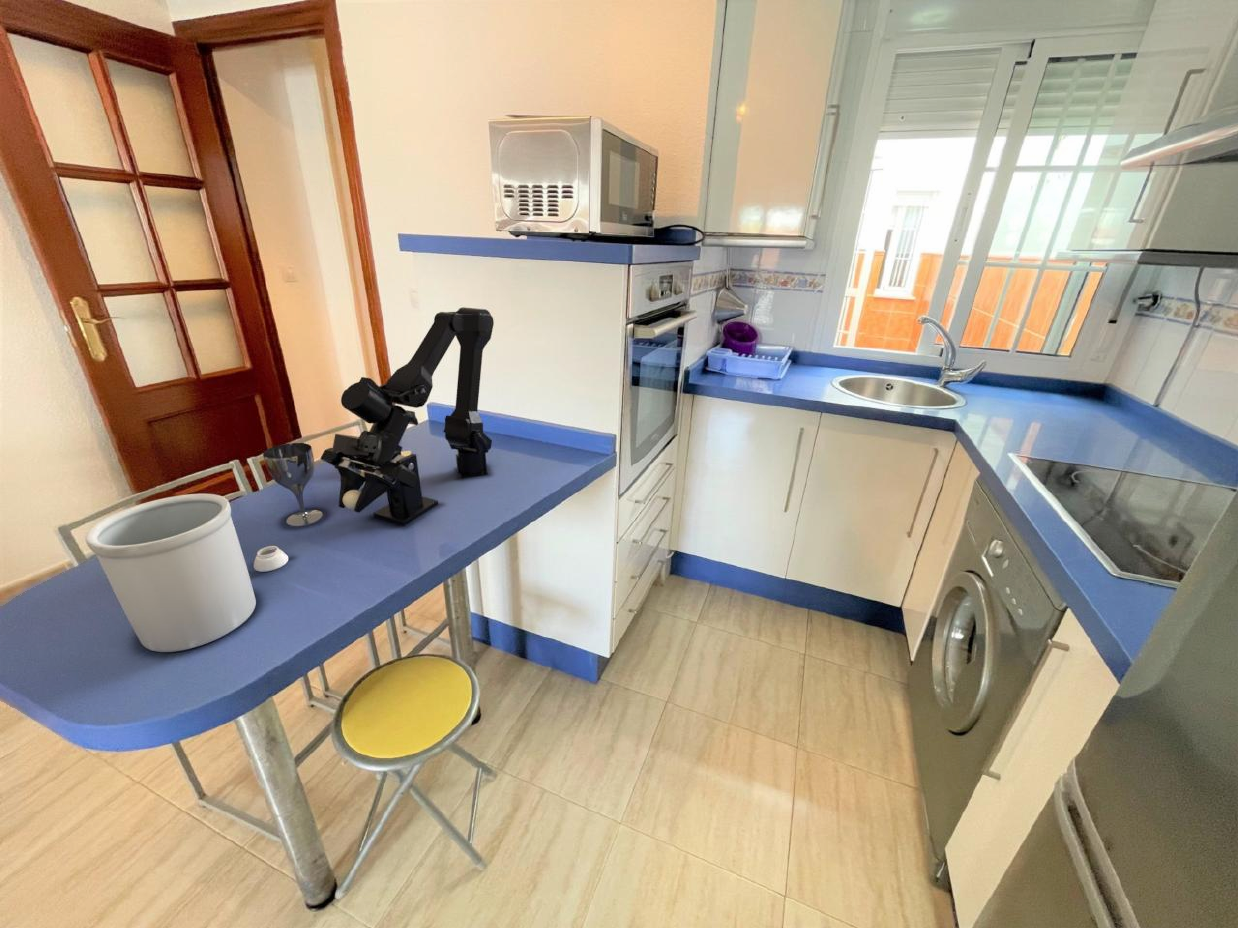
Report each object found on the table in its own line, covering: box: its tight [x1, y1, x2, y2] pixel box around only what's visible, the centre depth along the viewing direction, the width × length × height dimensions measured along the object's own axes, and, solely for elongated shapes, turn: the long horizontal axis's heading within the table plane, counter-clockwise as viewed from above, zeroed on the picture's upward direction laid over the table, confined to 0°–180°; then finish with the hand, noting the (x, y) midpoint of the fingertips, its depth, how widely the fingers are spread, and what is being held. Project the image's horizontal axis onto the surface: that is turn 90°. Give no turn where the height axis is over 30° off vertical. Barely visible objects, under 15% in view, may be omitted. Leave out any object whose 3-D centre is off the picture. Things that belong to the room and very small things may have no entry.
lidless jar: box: [252, 545, 289, 573], centre depth 87 cm, size 5×3×5 cm
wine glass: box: [262, 442, 323, 527], centre depth 99 cm, size 8×8×15 cm
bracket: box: [373, 451, 439, 527], centre depth 103 cm, size 10×8×13 cm
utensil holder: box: [84, 493, 257, 653], centre depth 71 cm, size 15×15×18 cm
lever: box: [343, 455, 406, 510], centre depth 97 cm, size 15×4×4 cm, turn 158°
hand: (348, 509), depth 92 cm, fingers closed on lever, 3 cm apart
